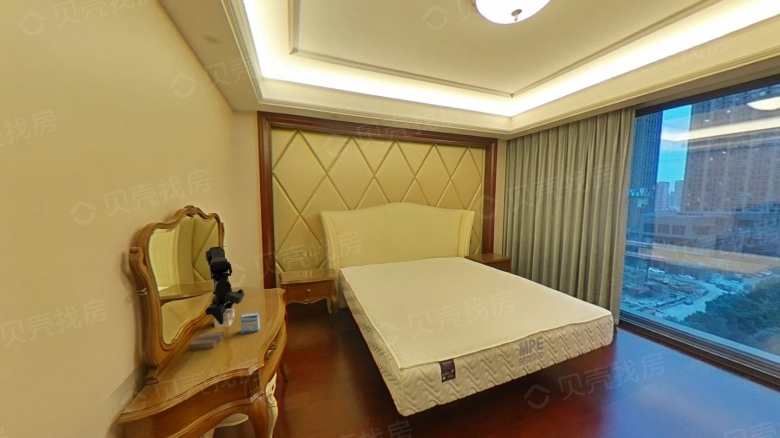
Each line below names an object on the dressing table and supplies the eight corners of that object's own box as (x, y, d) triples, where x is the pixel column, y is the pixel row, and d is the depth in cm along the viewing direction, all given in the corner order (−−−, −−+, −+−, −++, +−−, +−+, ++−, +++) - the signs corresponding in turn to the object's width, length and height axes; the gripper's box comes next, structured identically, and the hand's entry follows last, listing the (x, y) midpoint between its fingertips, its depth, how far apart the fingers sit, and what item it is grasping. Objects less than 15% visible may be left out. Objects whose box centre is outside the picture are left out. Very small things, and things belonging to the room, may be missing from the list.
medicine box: (241, 334, 137) (239, 317, 136) (243, 330, 141) (242, 313, 140) (258, 331, 139) (257, 315, 138) (260, 327, 143) (259, 311, 143)
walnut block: (202, 339, 134) (202, 333, 134) (224, 337, 135) (223, 331, 135) (190, 350, 124) (189, 344, 124) (213, 348, 125) (213, 342, 125)
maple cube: (221, 321, 129) (220, 309, 129) (235, 320, 130) (234, 308, 129) (214, 327, 123) (213, 314, 123) (229, 326, 124) (227, 313, 123)
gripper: (230, 294, 117) (234, 329, 118) (248, 280, 135) (251, 310, 137) (202, 296, 115) (206, 331, 117) (224, 281, 134) (227, 312, 136)
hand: (224, 320), depth 127 cm, fingers closed on maple cube, 6 cm apart
